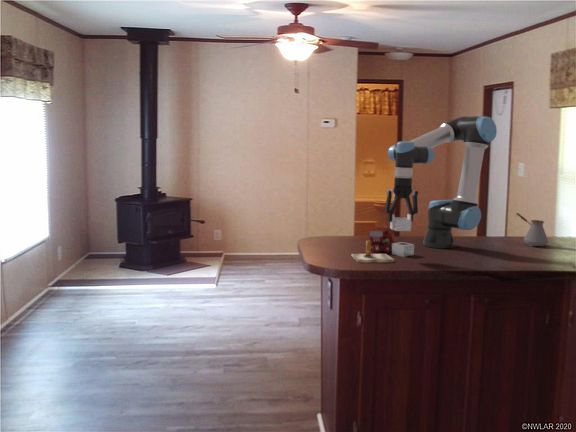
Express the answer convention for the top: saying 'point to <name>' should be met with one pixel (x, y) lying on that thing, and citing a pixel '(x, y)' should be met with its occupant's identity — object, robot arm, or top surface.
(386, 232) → the toy fire truck
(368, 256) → the keeper
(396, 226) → the white square box
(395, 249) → the white block with hole
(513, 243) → the top surface
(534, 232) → the coffee pot
